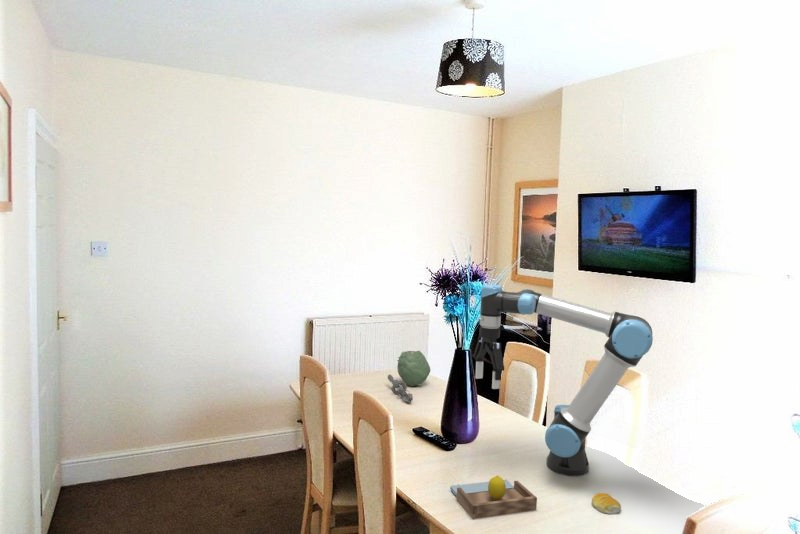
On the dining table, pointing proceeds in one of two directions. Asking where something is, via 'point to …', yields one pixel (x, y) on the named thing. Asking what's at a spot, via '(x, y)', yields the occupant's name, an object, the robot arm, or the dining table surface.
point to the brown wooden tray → (497, 502)
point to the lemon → (496, 487)
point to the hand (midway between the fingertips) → (487, 383)
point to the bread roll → (606, 503)
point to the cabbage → (413, 367)
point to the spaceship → (400, 389)
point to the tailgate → (477, 487)
